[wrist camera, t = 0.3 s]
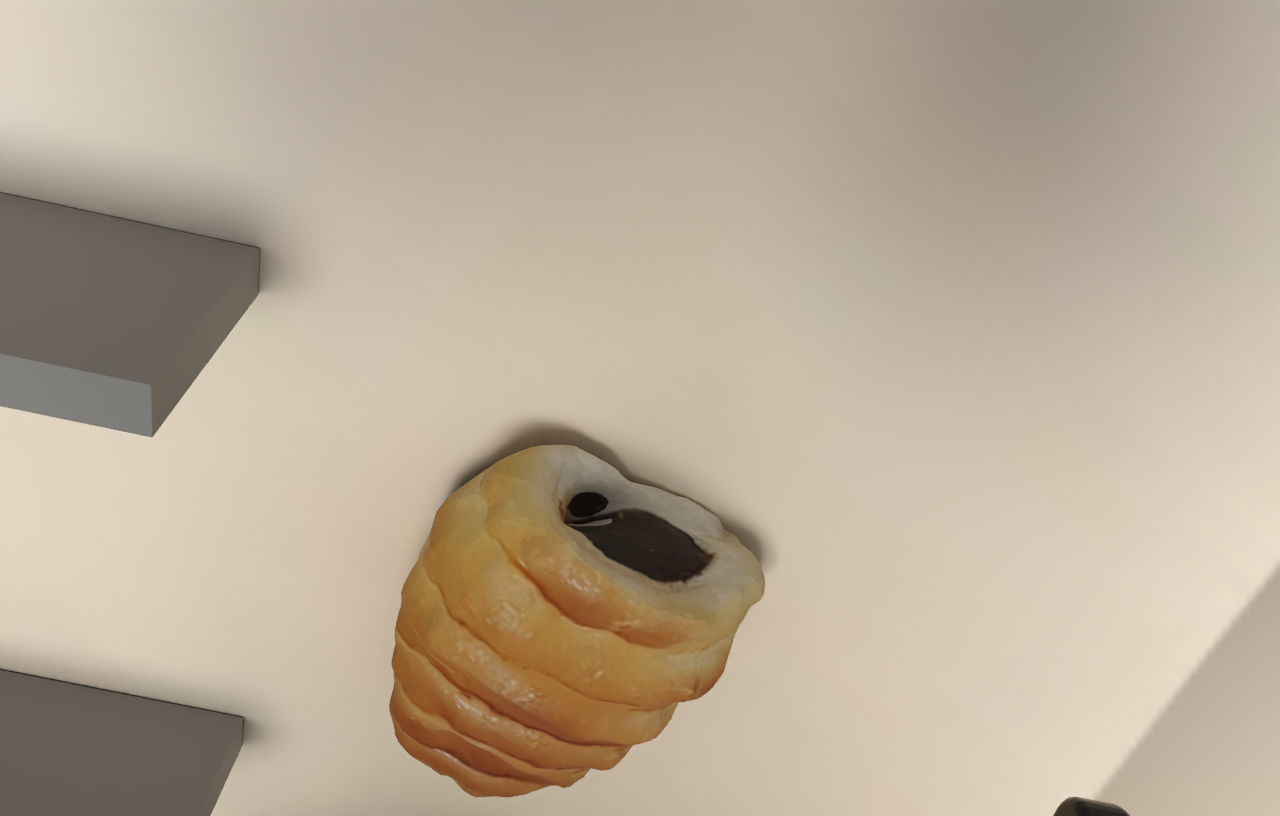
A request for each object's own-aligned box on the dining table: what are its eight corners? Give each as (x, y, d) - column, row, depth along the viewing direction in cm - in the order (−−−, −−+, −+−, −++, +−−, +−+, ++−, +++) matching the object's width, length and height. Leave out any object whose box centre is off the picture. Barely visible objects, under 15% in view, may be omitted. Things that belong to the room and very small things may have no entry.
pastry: (582, 778, 31) (562, 911, 28) (336, 669, 29) (284, 796, 26) (786, 530, 26) (791, 655, 23) (504, 386, 25) (467, 498, 21)
